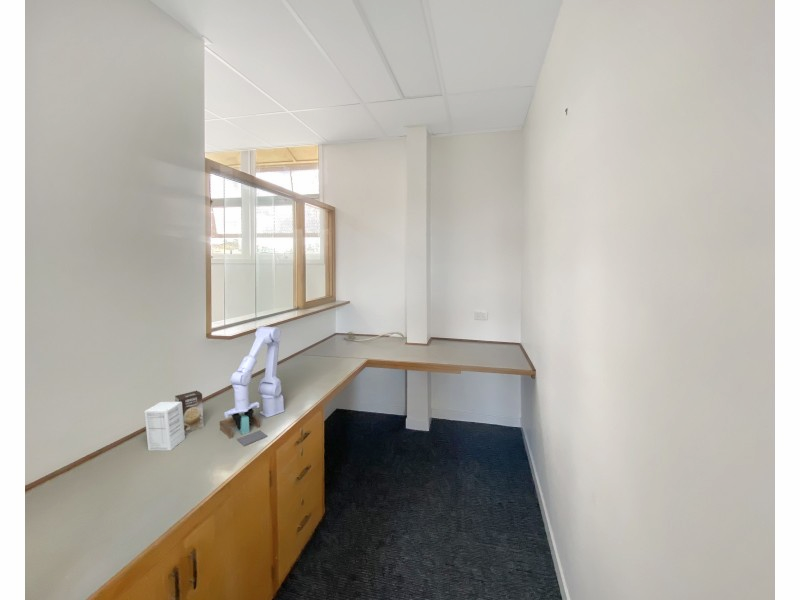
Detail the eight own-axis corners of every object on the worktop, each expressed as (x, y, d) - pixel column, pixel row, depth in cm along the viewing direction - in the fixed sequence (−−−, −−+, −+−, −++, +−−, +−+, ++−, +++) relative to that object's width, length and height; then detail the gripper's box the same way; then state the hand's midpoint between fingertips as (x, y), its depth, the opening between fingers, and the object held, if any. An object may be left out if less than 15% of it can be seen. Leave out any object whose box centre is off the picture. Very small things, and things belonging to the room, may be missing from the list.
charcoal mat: (259, 431, 147) (259, 430, 147) (267, 436, 142) (267, 435, 142) (237, 440, 140) (236, 439, 139) (244, 446, 135) (244, 445, 135)
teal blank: (243, 427, 150) (242, 413, 149) (249, 432, 146) (248, 417, 145) (236, 430, 148) (236, 415, 147) (242, 434, 144) (241, 419, 143)
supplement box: (185, 438, 140) (183, 401, 138) (170, 451, 131) (167, 411, 129) (163, 438, 140) (160, 400, 138) (147, 450, 131) (143, 410, 129)
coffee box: (181, 435, 143) (179, 399, 141) (176, 430, 147) (173, 396, 145) (204, 427, 150) (202, 393, 149) (199, 422, 154) (196, 389, 153)
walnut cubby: (248, 419, 158) (248, 411, 157) (259, 427, 150) (259, 419, 150) (220, 429, 148) (219, 421, 147) (229, 438, 141) (229, 429, 140)
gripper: (228, 406, 137) (229, 436, 139) (261, 395, 148) (263, 424, 149) (221, 401, 142) (223, 430, 143) (254, 391, 152) (256, 419, 154)
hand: (243, 427), depth 147 cm, fingers closed on teal blank, 3 cm apart
